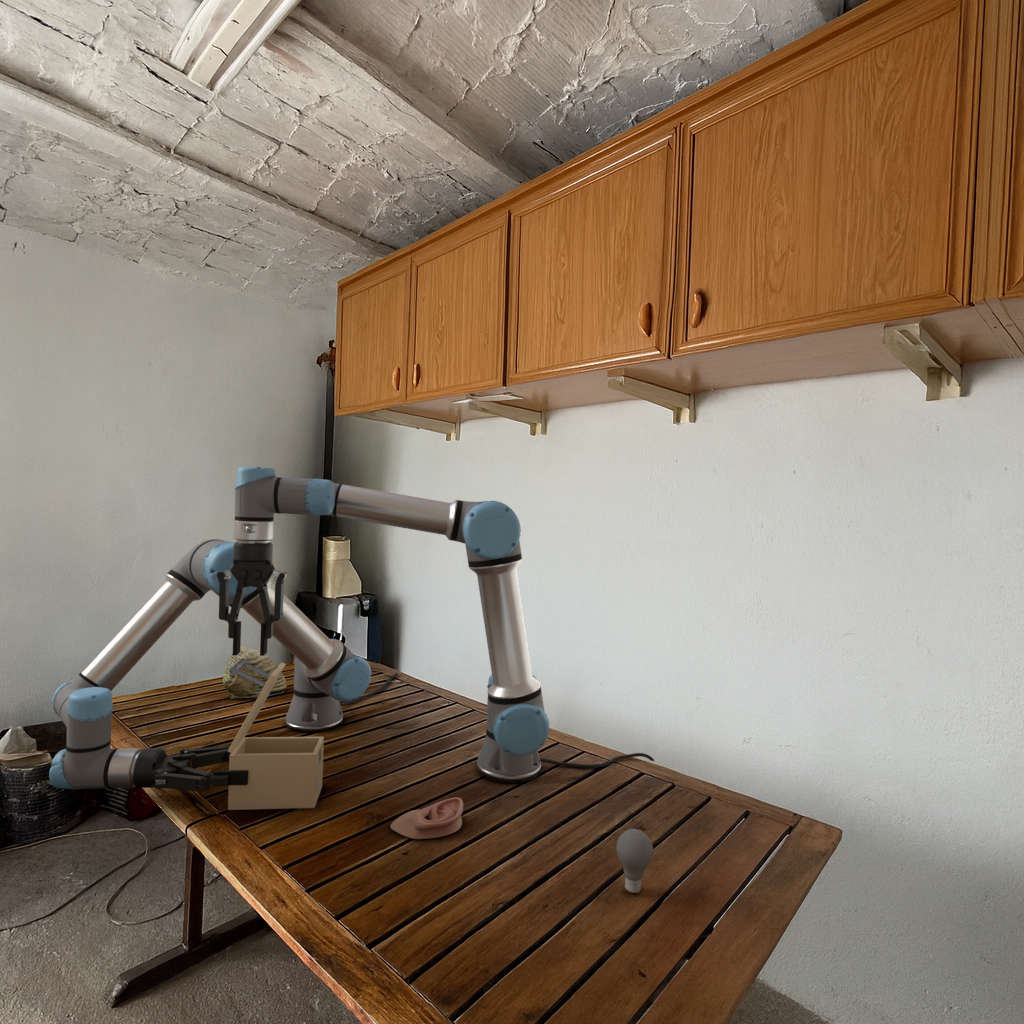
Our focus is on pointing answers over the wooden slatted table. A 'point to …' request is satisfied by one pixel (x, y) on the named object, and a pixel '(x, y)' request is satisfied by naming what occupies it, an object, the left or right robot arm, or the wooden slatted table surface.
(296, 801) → the chest
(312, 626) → the left robot arm
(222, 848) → the wooden slatted table surface
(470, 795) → the wooden slatted table surface
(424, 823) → the anatomical model
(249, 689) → the fossil
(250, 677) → the lid
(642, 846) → the light bulb
